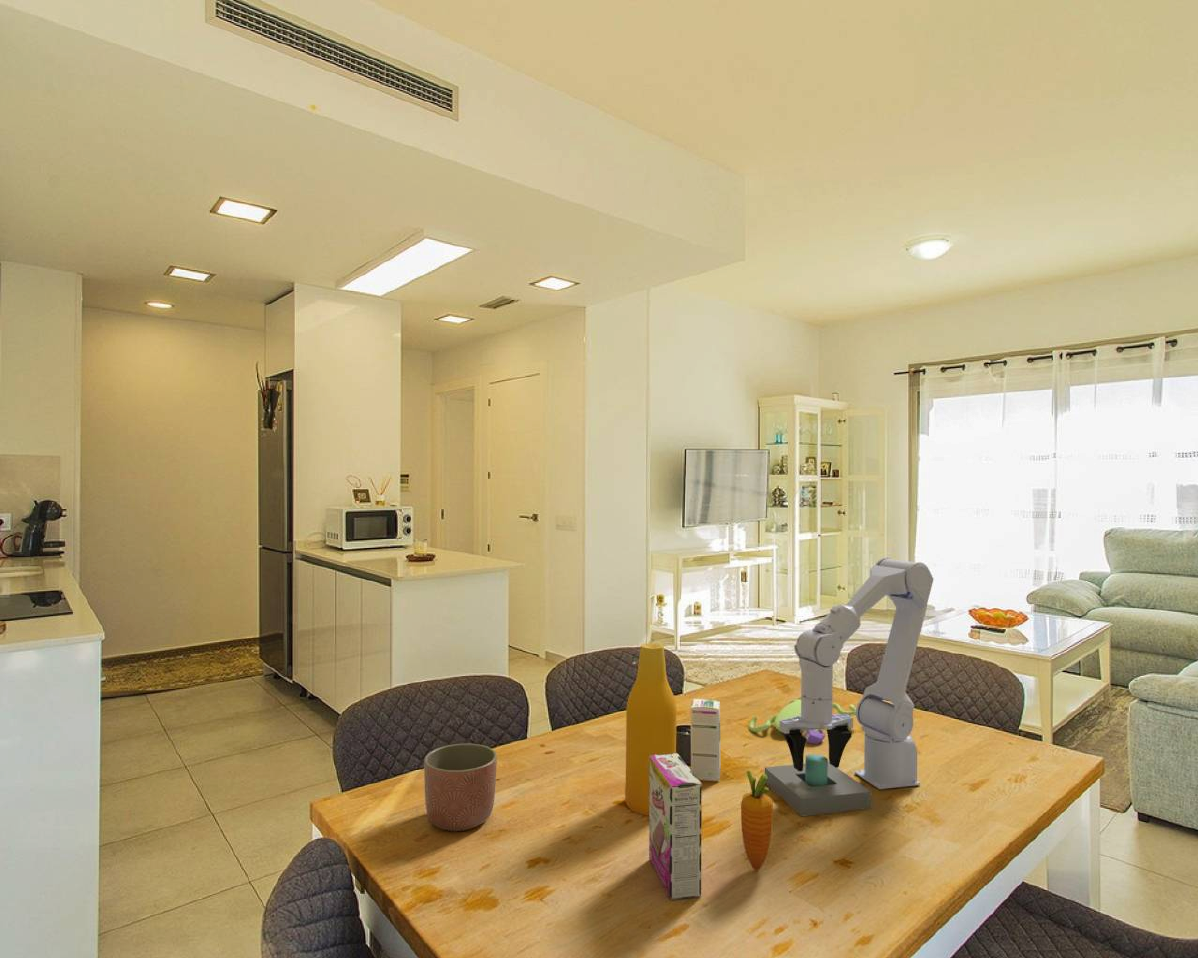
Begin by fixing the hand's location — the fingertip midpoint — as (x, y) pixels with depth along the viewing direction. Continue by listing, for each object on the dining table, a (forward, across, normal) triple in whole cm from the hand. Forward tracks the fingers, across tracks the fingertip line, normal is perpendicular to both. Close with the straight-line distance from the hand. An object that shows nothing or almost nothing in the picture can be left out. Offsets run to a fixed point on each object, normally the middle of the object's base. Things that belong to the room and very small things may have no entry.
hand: (816, 767), depth 131 cm
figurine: (+6, +18, +34) cm, 39 cm away
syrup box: (+5, -17, +13) cm, 22 cm away
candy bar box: (+5, -36, -20) cm, 42 cm away
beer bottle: (+5, -32, +3) cm, 33 cm away
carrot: (+5, -23, -21) cm, 32 cm away
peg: (+5, 0, 0) cm, 5 cm away
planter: (+5, -66, +5) cm, 66 cm away
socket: (+5, 0, 0) cm, 5 cm away
